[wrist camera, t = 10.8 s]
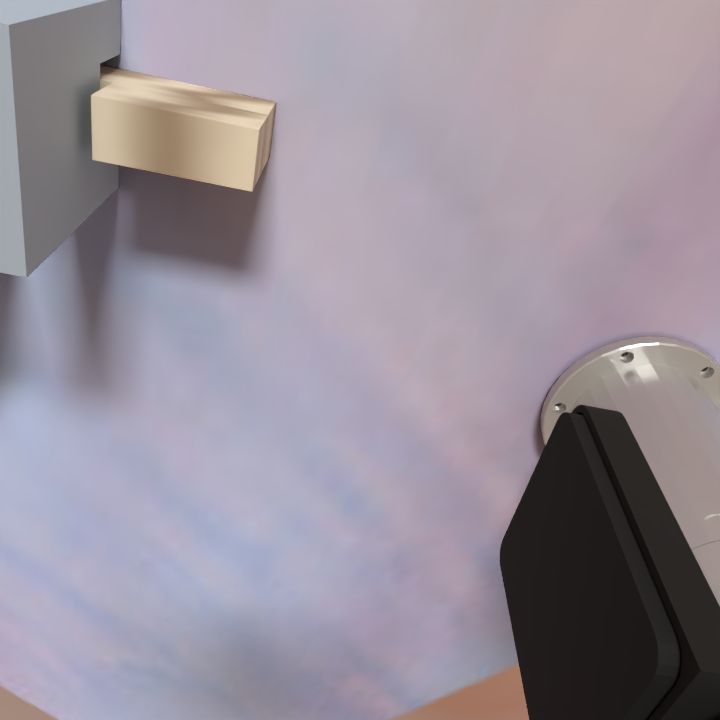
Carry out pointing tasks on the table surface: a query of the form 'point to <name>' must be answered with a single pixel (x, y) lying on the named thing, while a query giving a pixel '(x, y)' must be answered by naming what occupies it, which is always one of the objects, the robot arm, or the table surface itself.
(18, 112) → the flat gray plate
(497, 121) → the table surface
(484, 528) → the table surface
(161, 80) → the rail
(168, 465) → the table surface
